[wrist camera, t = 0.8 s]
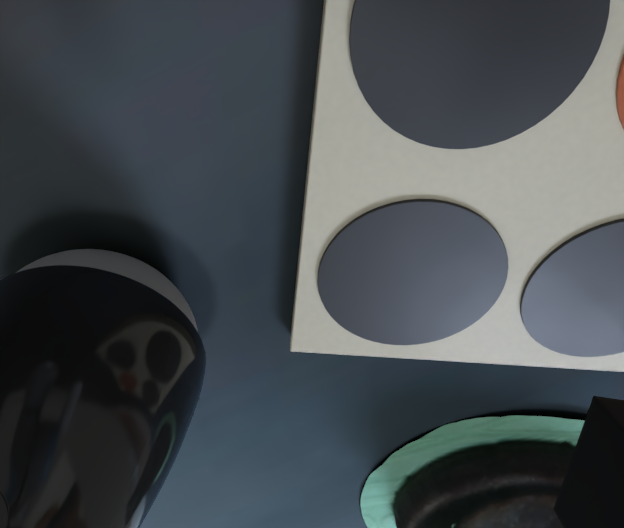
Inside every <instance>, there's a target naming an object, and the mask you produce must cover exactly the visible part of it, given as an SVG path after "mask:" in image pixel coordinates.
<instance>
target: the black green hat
mask: <svg viewBox="0 0 624 528" xmlns="http://www.w3.org/2000/svg"><path fill="white" fill-rule="evenodd" d="M584 422H585V421H584V420H576V419H565V418H558V417H548V416H521V415H511V416H504V417H481V418H474V419H468V420H461V421H459V422H457V423H450V424H447V425H444V426H441V427H439V428H437V429H436V430H434V431H432V432H430V433H428V434H427V435H425V436H424V437H422V438H421V439H418V440H416V441H413V442H411V443H409V444H407V445H406V446H404V447H403V448H401V449H400V450H398V451H396V452H395V453H393V454H392V455H391V456H390V457H389V458H388V459H387V460H386V461H385V463H383V464H382V465H381V466H380V467H379V468H378V469H376V470H375V471H374V472H372V473H371V475H370V476H369V477H368V479H367V481H366V483H365V486H364V489H363V491H362V495H361V502H360V505H361V512H362V516H363V518H364V521H365V523H366V525H367V526H368V528H563V526H562V524H561V522H560V520H559V519H558V517H557V515H556V513H555V511H554V510H553V509H554V506H555V503H556V500H557V498H558V495H559V492H560V489H561V486H562V484H563V481H564V478H565V475H566V472H567V469H568V467H569V464H570V461H571V458H572V455H573V453H574V450H575V447H576V444H577V441H578V439H579V436H580V433H581V430H582V427H583V425H584Z"/></svg>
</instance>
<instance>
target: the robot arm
mask: <svg viewBox="0 0 624 528" xmlns="http://www.w3.org/2000/svg"><path fill="white" fill-rule="evenodd" d="M553 510H554V511H555V513H556V515H557V517H558V519H559V520H560V522H561V524H562V526H563V528H624V400H617V399H611V398H604V397H597V396H594V397H593V399H592V402H591V405H590V408H589V411H588V413H587V416H586V419H585V422H584V425H583V427H582V430H581V433H580V436H579V439H578V441H577V444H576V447H575V450H574V453H573V455H572V458H571V461H570V464H569V467H568V469H567V472H566V475H565V478H564V481H563V484H562V486H561V489H560V492H559V495H558V498H557V500H556V503H555V506H554V509H553Z"/></svg>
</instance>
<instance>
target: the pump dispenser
mask: <svg viewBox="0 0 624 528" xmlns="http://www.w3.org/2000/svg"><path fill="white" fill-rule="evenodd" d="M205 366H206V357H205V350H204V346H203V343H202V340H201V338H200V336H199V334H198V330H197V325H196V322H195V319H194V316H193V313H192V311H191V309H190V307H189V305H188V303H187V301H186V300H185V298H184V297H183V295H182V294H181V293H180V291H179V290H178V289H177V287H176V286H175V285H174V284H173V283H172V282H171V281H170V280H169V279H168V278H166V277H165V276H164V275H163V274H162V273H160V272H159V271H158V270H156V269H155V268H153V267H151V266H150V265H148V264H146V263H144V262H142V261H140V260H138V259H136V258H133V257H130V256H128V255H125V254H121V253H117V252H113V251H108V250H100V249H76V250H68V251H63V252H58V253H55V254H51V255H48V256H46V257H43V258H40V259H38V260H36V261H34V262H32V263H30V264H28V265H26V266H25V267H23V268H22V269H20V270H19V271H17V272H16V273H14V274H12V275H9V276H7V277H5V278H3V279H2V280H0V528H139V527H140V526H141V524H142V522H143V520H144V519H145V517H146V515H147V513H148V512H149V510H150V508H151V506H152V505H153V503H154V501H155V499H156V497H157V495H158V493H159V492H160V490H161V488H162V486H163V484H164V482H165V480H166V478H167V476H168V474H169V472H170V470H171V468H172V466H173V463H174V461H175V459H176V457H177V455H178V452H179V450H180V448H181V445H182V443H183V440H184V438H185V435H186V433H187V430H188V427H189V425H190V422H191V419H192V416H193V414H194V411H195V408H196V405H197V402H198V399H199V396H200V392H201V389H202V384H203V379H204V374H205Z"/></svg>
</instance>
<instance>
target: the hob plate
mask: <svg viewBox="0 0 624 528" xmlns="http://www.w3.org/2000/svg"><path fill="white" fill-rule="evenodd" d="M290 351H292V352H308V353H325V354H341V355H357V356H374V357H390V358H406V359H423V360H439V361H455V362H472V363H488V364H505V365H521V366H537V367H554V368H570V369H586V370H603V371H619V372H624V0H324V4H323V14H322V24H321V34H320V44H319V54H318V64H317V74H316V84H315V94H314V104H313V114H312V124H311V134H310V144H309V154H308V164H307V174H306V184H305V194H304V204H303V214H302V224H301V235H300V245H299V255H298V265H297V275H296V285H295V295H294V305H293V315H292V325H291V335H290Z"/></svg>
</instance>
